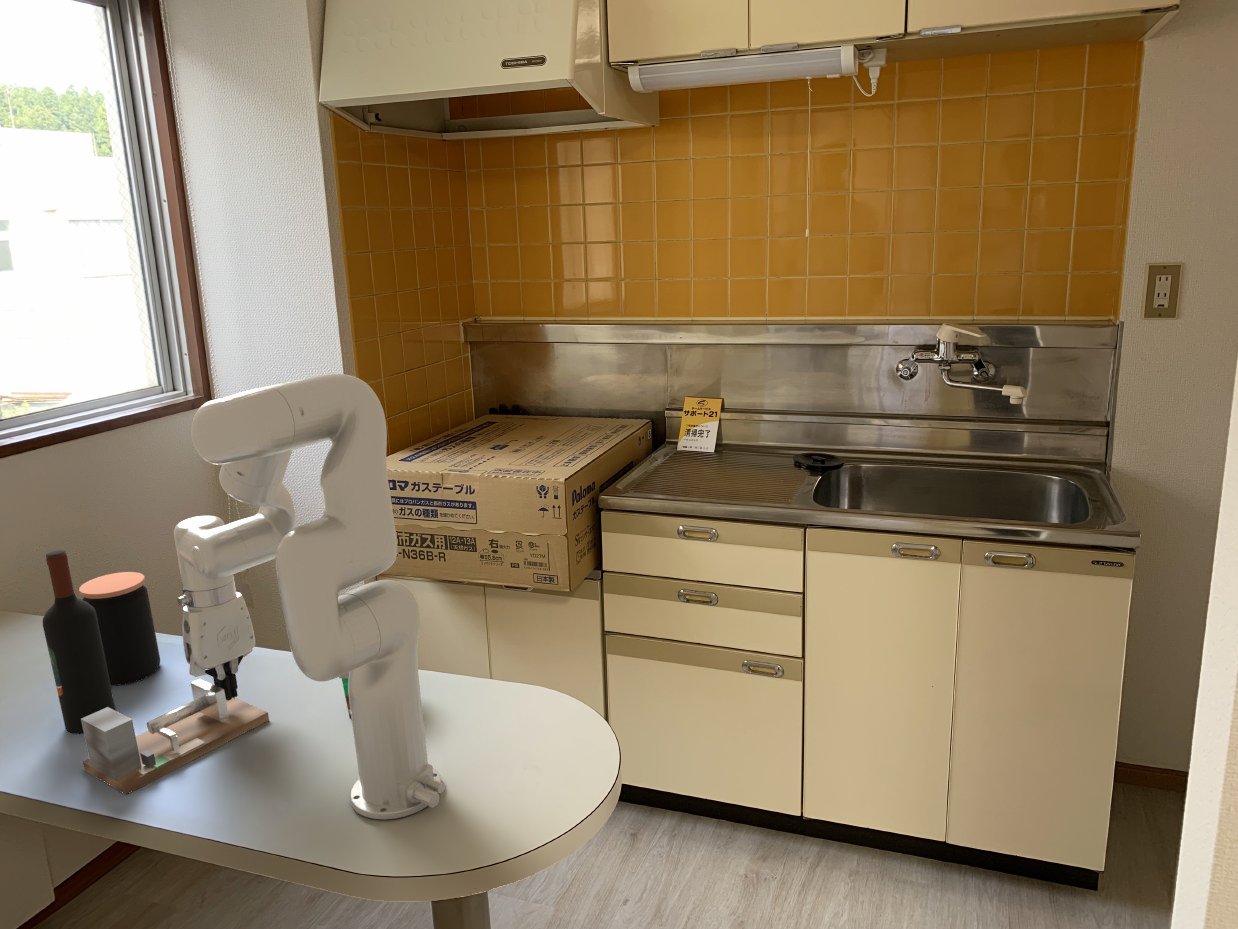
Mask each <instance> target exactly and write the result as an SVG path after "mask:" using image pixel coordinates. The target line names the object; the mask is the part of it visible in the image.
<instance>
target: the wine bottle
mask: <svg viewBox="0 0 1238 929" xmlns="http://www.w3.org/2000/svg"><path fill="white" fill-rule="evenodd" d="M45 557H46V558H45V560H46V561H45V562H46V564H47V567H48V571H49V577H50V580H51V585H52V590H53V595H54V603H53V604H52V605H51V606H50V607H49V608H48V609H47V610H46V611H45V613H44V615H43V617H42V628H43V633H44V638H45V641H46V646H47V651H48V655H49V661H50V664H51V668H52V670H51V671H52V674H53V677H54V683H55V687H56V692H57V697H58V700H59V705H60V710H61V714H62V719H63V723H64V727H65V731H66V732H67V733H69V734H72V735H84V732H83V727H82V722H81V719H82V718H84V717H86V716H88V715H91V714H93V713H95V712H98V711H100V710H102V709H104V708H107V707H109V708H111V709H113V710H115V711H116V710H117V709H116V705H115V700H114V695H113V691H112V685H111V684H110V680H109V675H108V670H107V665H106V660H105V655H104V650H103V645H102V640H101V635H100V630H99V626H98V621H97V616H96V611H95V609H94V607H92V606H91V605H90V604H89V603H88V602H86V601H83V600H82V599H80V598H78V597H77V595H76V592H75V590H74V584H73V580H72V576H71V571H70V566H69V557H68V555H67V552H66V550H64V549H62V550H59V549H58V550H54V551H50V552H48V553H46V554H45Z"/></svg>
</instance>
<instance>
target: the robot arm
mask: <svg viewBox="0 0 1238 929" xmlns="http://www.w3.org/2000/svg"><path fill="white" fill-rule="evenodd" d="M387 430H388V429H387V422H386V416H385V411H384V408H383V405H382V404H381V400H380V399H379V397H378V396H377V393H375V391H374V390H373V388H372V387H371V386H370V385H369V384H368V383H367V382H365V381H364V380H362V379H361V378H358V377H357V376H354V375H350V374H345V373H343V374H342V373H333V374H321V375H316V376H310V377H305V378H300V379H297V380H291V381H288V382H287V381H286V382H282V383H276V384H272V385H267V386H264V387H263V386H262V387H258V388H253V389H250V390H246V391H242V392H238V393H236V394H231V395H229V396H225V397H223V398H217V399H213V400H209V401H206V402H205V403H204V404H202V405H201V406H200V407H199V408H198V409H197V411H196V412H195V414H194V416H193V419H192V422H191V429H190V431H191V432H190V435H191V440H192V444H193V448H194V449H195V451H196V452H197V454H198V456H200V458H201V459H202V460H204V461H205V462H207V463H209V464H211V465H217V466H221V467H220V469H219V470H220V471H219V475H218V476H219V477H218V479H219V484H220V486H221V488H222V489H223V490H224V492H225V493H226V494H227V495H228V496H230V497H231V498H232V499H235V500H237V501H238V502H242V503H244V504H249V505H255V506H259V509H258V511H257V513H256V514H255V515H253V516H252V515H251V516H249V517H246V518H242V519H239V520H235V521H232V522H230V523H226V524H225V522H224V520H223V519H222V518H220V517H219V516H217V515H216V516H215V515H199V516H198V515H197V516H193V517H189V518H186V519H184V520H181V521H180V522H178V523H177V524H176V525H175V527H174V529H173V537H174V538H173V539H174V543H175V549H176V555H177V560H178V561H177V562H178V566H179V567H178V568H179V573H180V578H181V584H182V595H181V596H180V597H177V604H178V605H179V606H183V608H182V616H181V617H182V619H181V620H182V621H181V623H182V624H181V625H182V628H181V630H182V632H181V633H182V642H183V650H184V657H185V661H186V662H187V664H189V675H190V676H192V677H195V678H198V677H202V676H206V675H208V676H210V677H212V679H213V683H214V684H213V685H215V686H217V687H220V688H222V689H224V692H225V698H226V700H228V701H229V700H231V699H232V698H237V697H238V696H239V694H238V681H237V676H236V674H237V673H238V672H239V666H240V665H241V662H242V660H243V658H245V657H247V656H248V655H250V654H251V653H252V651H253V649H254V648H255V646H256V638H255V633H254V631H255V630H254V628H253V623H252V620H251V616H250V612H249V609H248V606H247V603H246V601H245V598H244V597H243V595H242V593H241V592H238V591H237V588H236V584H235V577H234V574H237V573H240V572H243V571H245V570H248V569H250V568H253V567H256V566H258V565H261V564H265V563H266V562H267V563H268V562H269V561H271V560H272V561H273V560H275V570H276V578H277V584H278V589H279V595H280V600H281V606H282V612H283V617H284V621H285V622H284V623H285V629H286V634H287V638H288V643H289V648H290V651H291V654H292V657H293V659H294V661H295V664H296V665H297V667H298V669H299V671H301V672H302V674H303V675H305V677H307V678H308V679H310V680H313V681H314V682H329V681H332V680H335V679H337V678H338V679H339V677H340V676H342V675H344V674H346V673H348V672H350V673H349V679H348V694H349V703H350V711H351V718H350V719H351V724H352V732H353V740H354V746H355V748H354V749H355V755H356V756H355V757H356V762H357V770H358V778H359V779H358V780H356V782H355V783H354V785H352V787H351V790H350V792H349V793H350V794H349V799H350V804H351V806H352V808H353V809H354V811H355V812H356V813H357V814H359V815H361V816H363V817H366V818H369V819H373V820H395V819H400V818H404V817H407V816H411V815H413V814H416V813H418V812H420V811H422V810H424V809H425V808H427V807H429V808H432V809H433V808H436V807H437V805H438V804H439V802H440V798H441V796H440V794H442V793H444V791H445V790H446V785H445V783H443V782H442V778H441V774H440V772H439V771H438V770H437V769H436V768H434V767H433V765H432V764H429V759H428V750H427V749H428V748H427V741H426V733H425V732H426V731H425V723H424V714H423V706H422V696H421V684H420V676H419V663H418V662H419V661H418V650H419V649H418V647H419V645H418V644H419V635H420V628H421V627H420V626H421V625H420V624H421V613H420V607H419V604H418V601H417V598H416V597H415V595H414V593H413V591H412V590H411V589H410V588H409V587H408V586H407V585H405V584H404V583H402V582H400V581H397V580H392V579H380V580H375V581H374V580H373V581H371V582H369V583H366V584H363V585H361V586H359V587H356V588H354V589H351V590H349V591H347V592H345V593H343V594H340V595H339V592H341V591H344V590H346V589H348V588H351V587H353V586H355V585H357V584H360V583H361V582H365V581H367V580H369V579H371V578H374V577H376V576H378V575H380V574H382V573H383V572H385V571H388V569H390V568H391V567H392V566H393V565H394V564H395V563H396V562H395V561H396V559H397V556H398V539H397V532H396V524H395V518H394V510H393V504H392V495H391V490H390V489H391V488H390V483H389V479H388V478H389V477H388V470H387V449H388V448H387V447H388V446H387V445H388V440H387V439H388V438H387V437H388V435H387V434H388V431H387ZM326 441H330V442H331V443H332V444H331V446H330V449H329V450H328V452H327V454H326V456H325V459H324V462H323V466H322V468H321V474H320V480H319V481H320V484H319V485H320V490H321V495H322V497H321V498H322V503H323V504H322V505H323V514H322V516H321V518H318V519H316V520H313V521H310V522H307V523H304V524H301V525H299V526H296V527H295V522H296V512H295V510H296V509H295V507H294V506H295V505H294V501H293V499H292V496H291V494H290V492H289V490H288V489H287V487H286V486H285V485H284V484H283V481H284V477H285V475H286V472H287V468H288V467H289V466H288V465H289V464H290V463H289V462H290V459H291V457H292V454H293V450H296V449H301V448H304V447H309V446H312V445H315V444H318V443H322V442H326ZM294 527H295V528H294ZM184 605H185V606H184Z"/></svg>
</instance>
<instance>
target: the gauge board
mask: <svg viewBox="0 0 1238 929" xmlns="http://www.w3.org/2000/svg"><path fill="white" fill-rule="evenodd" d="M226 704H227V710H228V716H229V717H228V718H226V719H224V720H222V721H218V720H216V719H214V718H212V717H209V716H207V715H205V714H203V713H201V712H198V713H196V714H193V715H191V716H189V717H187V718H185V719H183V720H181V721H179V722H177V723H175V724H173V725H171V726H168V727H166V729H168V730H170V731H172V732H174V733H176V736H177V739H178V744H179V749H178V750H176V751H173V750H172V749H171V744H170V739H168V738H166V737H164V736H162V735H160V734H158V733H154V734H151V733H150V732H149V730H148V729H147V730H146V731H144V732H142V733H141V734H138V735H136V732H135V727H134V722H133V721H134V720H133V719H132V718H130V717H129V716H126V715H124V714H122V713H120V712H119V711H115V710H113V709H111V708H109V707H107V708H104V709H102V710H100V711H98V712H95V713H93V714H91V715H88V716H86V717H84V718H82V719H81V722H82V727H83V732H84V734H83V736H84V741H85V745H86V749H87V755H88V759H86V760H84V761H82V764H83V770H84V772H87V773H88V774H90V775H92V776H93V777H95V778H96V777H97V778H96V779H98V780H100V779H101V780H100V781H102V782H103V781H105V782H106V783H105V782H104V783H105V784H107V783H108V784H110V785H111V786H110V785H109V786H110V787H112V786H113V787H115V788H116V789H115V788H114V789H115V790H117V789H118V790H119V792H120V791H121V792H120V793H122V792H123V793H124V795H125V794H127V795H128V793H129V792H131V791H133V792H134V790H135V791H136V790H138V789H140V788H143V787H144V786H146V785H148V784H150V783H152V782H154V781H156V780H158V779H159V777H160V778H161V777H163V776H165V775H167V774H169V773H171V772H173V771H175V770H177V769H179V768H181V767H182V766H184V765H187V764H188V763H190V762H192V761H194V760H196V759H198V758H200V757H202V756H204V755H205V753H206V754H207V753H209V752H211V751H213V750H215V749H217V748H219V747H220V745H221V746H223V745H225V744H227V743H228V742H227V741H229V740H231V741H232V740H234V739H236V738H238V737H240V736H242V735H244V734H245V733H244V732H246V733H247V731H248V732H250V731H251V730H250V729H252V730H254V729H255V728H257V727H259V726H261V725H263V724H265V723H267V722H268V721H270V718H269V712H268V711H266V710H264V709H262V708H259V707H257V706H254V705H252V704H250V703H247V702H245V701H243V700H240V699H238V698H237V697H235V698H232V699H231V700H229V701H228V700H226ZM264 722H265V723H264ZM253 728H254V729H253ZM249 730H250V731H249ZM243 733H244V734H243ZM241 734H242V735H241ZM239 735H240V736H239ZM237 736H238V737H237ZM235 737H236V738H235ZM233 738H234V739H233ZM226 742H227V743H226ZM229 742H230V741H229ZM224 743H225V744H224ZM222 744H223V745H222ZM145 750H148V751H150V752H152V753H154V756H155V762H156V765H154V766H152V767H150V768H149V767H147V766H146V765H144V764H142V759H141V754H140V753H141V752H143V751H145ZM203 754H204V755H203ZM199 756H200V757H199ZM180 766H181V767H180ZM155 779H156V780H155ZM153 780H154V781H153ZM147 783H148V784H147ZM108 784H107V785H108ZM113 787H112V788H113ZM118 790H117V791H118ZM123 793H122V794H123ZM131 793H132V792H131ZM129 794H130V793H129Z"/></svg>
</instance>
